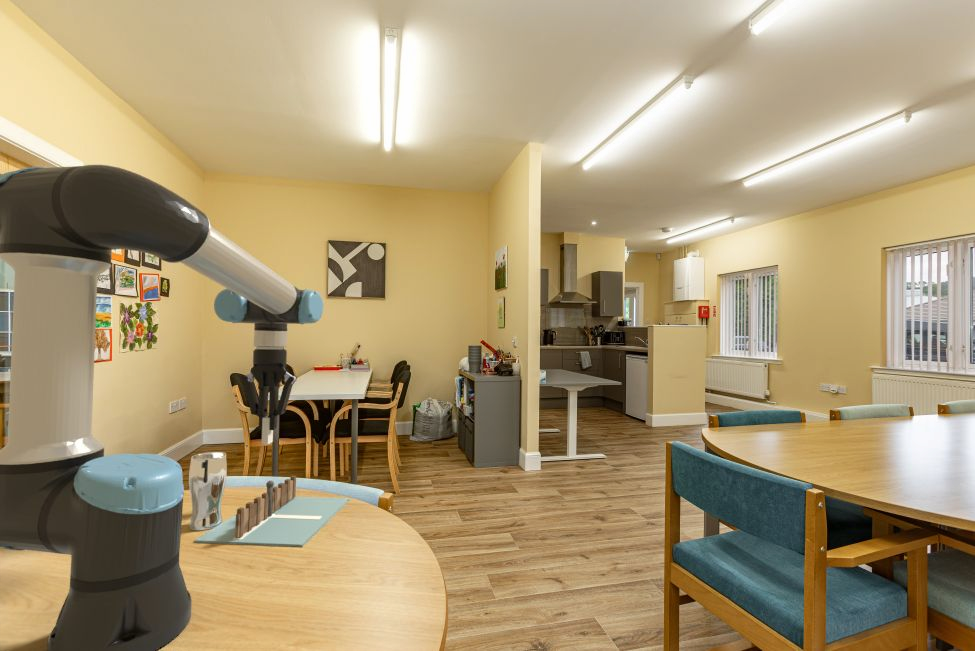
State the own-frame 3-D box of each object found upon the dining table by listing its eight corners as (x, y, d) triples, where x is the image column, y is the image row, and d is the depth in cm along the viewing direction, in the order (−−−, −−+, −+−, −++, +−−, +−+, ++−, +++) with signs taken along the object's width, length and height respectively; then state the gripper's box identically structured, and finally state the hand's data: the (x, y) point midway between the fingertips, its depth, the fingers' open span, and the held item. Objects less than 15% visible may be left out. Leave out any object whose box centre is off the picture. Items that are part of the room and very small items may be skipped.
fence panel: (273, 512, 101) (274, 489, 101) (269, 512, 101) (270, 489, 101) (296, 496, 112) (296, 475, 112) (292, 496, 112) (293, 474, 112)
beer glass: (211, 532, 92) (214, 460, 93) (178, 531, 92) (182, 459, 93) (231, 519, 99) (234, 452, 100) (200, 518, 99) (203, 451, 100)
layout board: (302, 546, 86) (302, 544, 86) (194, 542, 87) (194, 539, 87) (349, 500, 112) (349, 498, 112) (265, 497, 113) (265, 495, 113)
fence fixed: (240, 541, 88) (242, 499, 88) (232, 541, 88) (234, 499, 88) (274, 516, 101) (275, 479, 101) (267, 516, 101) (268, 479, 101)
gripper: (302, 348, 114) (299, 439, 113) (251, 347, 114) (248, 439, 113) (290, 349, 107) (287, 446, 106) (235, 348, 106) (232, 446, 105)
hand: (267, 443), depth 109 cm, fingers closed
